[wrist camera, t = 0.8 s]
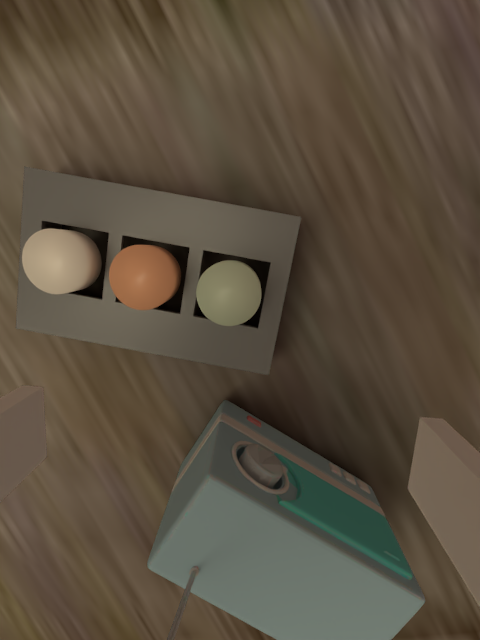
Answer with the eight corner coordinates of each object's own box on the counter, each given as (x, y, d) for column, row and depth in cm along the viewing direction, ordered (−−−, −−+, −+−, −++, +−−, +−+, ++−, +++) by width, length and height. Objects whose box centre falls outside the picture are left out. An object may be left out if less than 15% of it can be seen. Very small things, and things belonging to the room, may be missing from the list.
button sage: (197, 313, 27) (191, 319, 24) (206, 254, 26) (201, 255, 24) (254, 323, 27) (254, 331, 24) (266, 265, 26) (267, 267, 24)
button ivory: (41, 284, 27) (20, 288, 25) (45, 225, 26) (23, 223, 24) (98, 295, 27) (83, 299, 24) (104, 236, 26) (88, 234, 24)
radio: (375, 470, 33) (547, 787, 14) (320, 539, 35) (403, 908, 15) (231, 383, 32) (194, 592, 13) (182, 458, 34) (81, 745, 14)
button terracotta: (119, 298, 27) (105, 303, 24) (126, 240, 26) (112, 239, 24) (176, 309, 27) (168, 315, 24) (185, 251, 26) (177, 251, 24)
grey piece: (45, 318, 32) (15, 328, 28) (55, 177, 29) (24, 166, 25) (267, 359, 32) (268, 375, 28) (295, 221, 29) (301, 216, 25)
